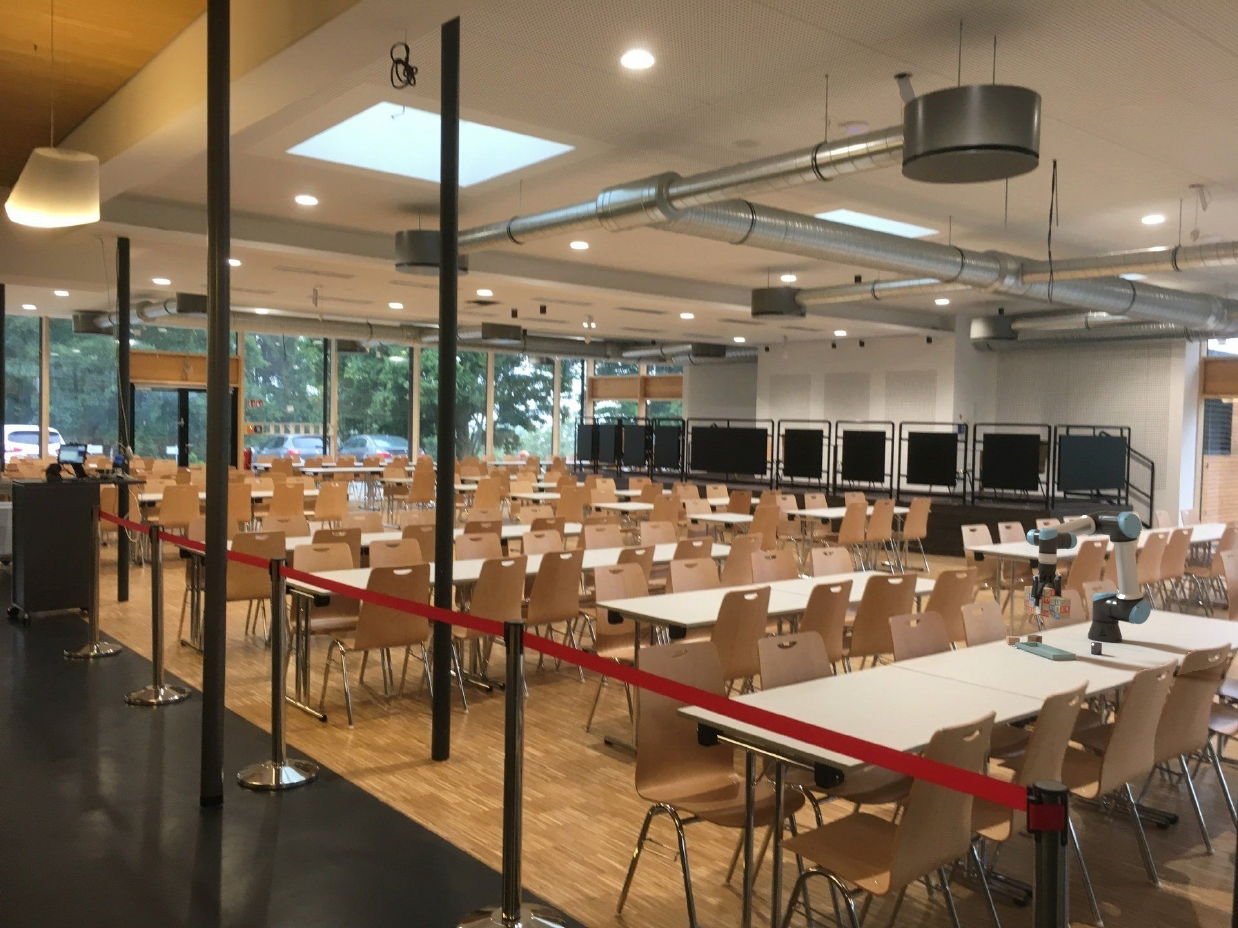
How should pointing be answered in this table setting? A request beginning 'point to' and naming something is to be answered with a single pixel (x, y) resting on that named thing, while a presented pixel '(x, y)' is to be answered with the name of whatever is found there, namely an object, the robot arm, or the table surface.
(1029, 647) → the tray
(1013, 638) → the terracotta block
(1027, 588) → the stack of blocks
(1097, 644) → the metal cylinder
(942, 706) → the table surface
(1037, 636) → the walnut cube
